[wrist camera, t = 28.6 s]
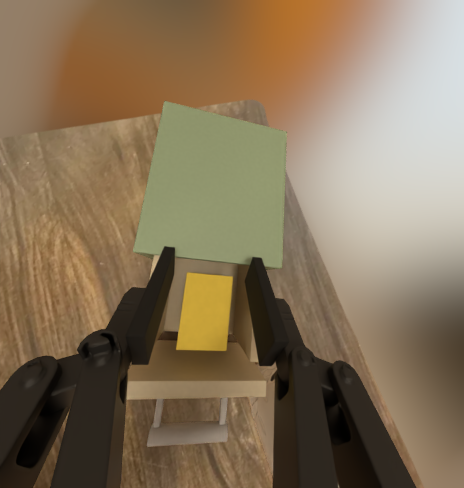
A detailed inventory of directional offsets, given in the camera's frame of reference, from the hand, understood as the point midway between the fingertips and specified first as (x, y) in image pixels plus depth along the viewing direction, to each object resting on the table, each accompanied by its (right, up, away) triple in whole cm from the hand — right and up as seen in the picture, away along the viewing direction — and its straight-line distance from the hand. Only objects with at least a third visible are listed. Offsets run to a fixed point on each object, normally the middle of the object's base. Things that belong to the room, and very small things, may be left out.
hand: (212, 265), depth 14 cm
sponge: (-2, -5, +8) cm, 10 cm away
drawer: (-3, -8, +9) cm, 12 cm away
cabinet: (-1, +6, +13) cm, 14 cm away
